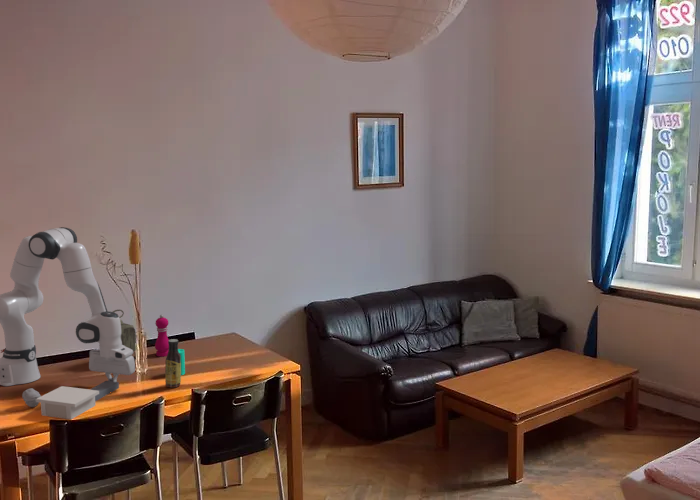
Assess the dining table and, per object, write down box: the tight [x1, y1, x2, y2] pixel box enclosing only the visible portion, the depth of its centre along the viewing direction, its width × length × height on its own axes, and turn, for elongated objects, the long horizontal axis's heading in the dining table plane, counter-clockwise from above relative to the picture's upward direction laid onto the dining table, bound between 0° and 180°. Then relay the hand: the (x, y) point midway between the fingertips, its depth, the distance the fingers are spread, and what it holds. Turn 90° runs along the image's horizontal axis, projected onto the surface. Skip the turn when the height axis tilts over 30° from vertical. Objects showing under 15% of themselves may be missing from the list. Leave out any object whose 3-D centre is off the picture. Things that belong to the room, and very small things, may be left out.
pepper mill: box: [154, 314, 170, 357], centre depth 320 cm, size 7×7×20 cm
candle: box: [178, 348, 186, 376], centre depth 294 cm, size 6×6×12 cm
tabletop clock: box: [112, 309, 137, 353], centre depth 307 cm, size 14×9×25 cm, turn 145°
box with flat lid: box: [36, 385, 99, 420], centre depth 252 cm, size 17×14×6 cm
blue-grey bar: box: [89, 380, 120, 402], centre depth 269 cm, size 18×6×3 cm, turn 164°
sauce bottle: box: [164, 338, 182, 389], centre depth 278 cm, size 7×6×20 cm
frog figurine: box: [21, 388, 42, 408], centre depth 256 cm, size 6×7×7 cm
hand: (112, 382), depth 278 cm, fingers closed
